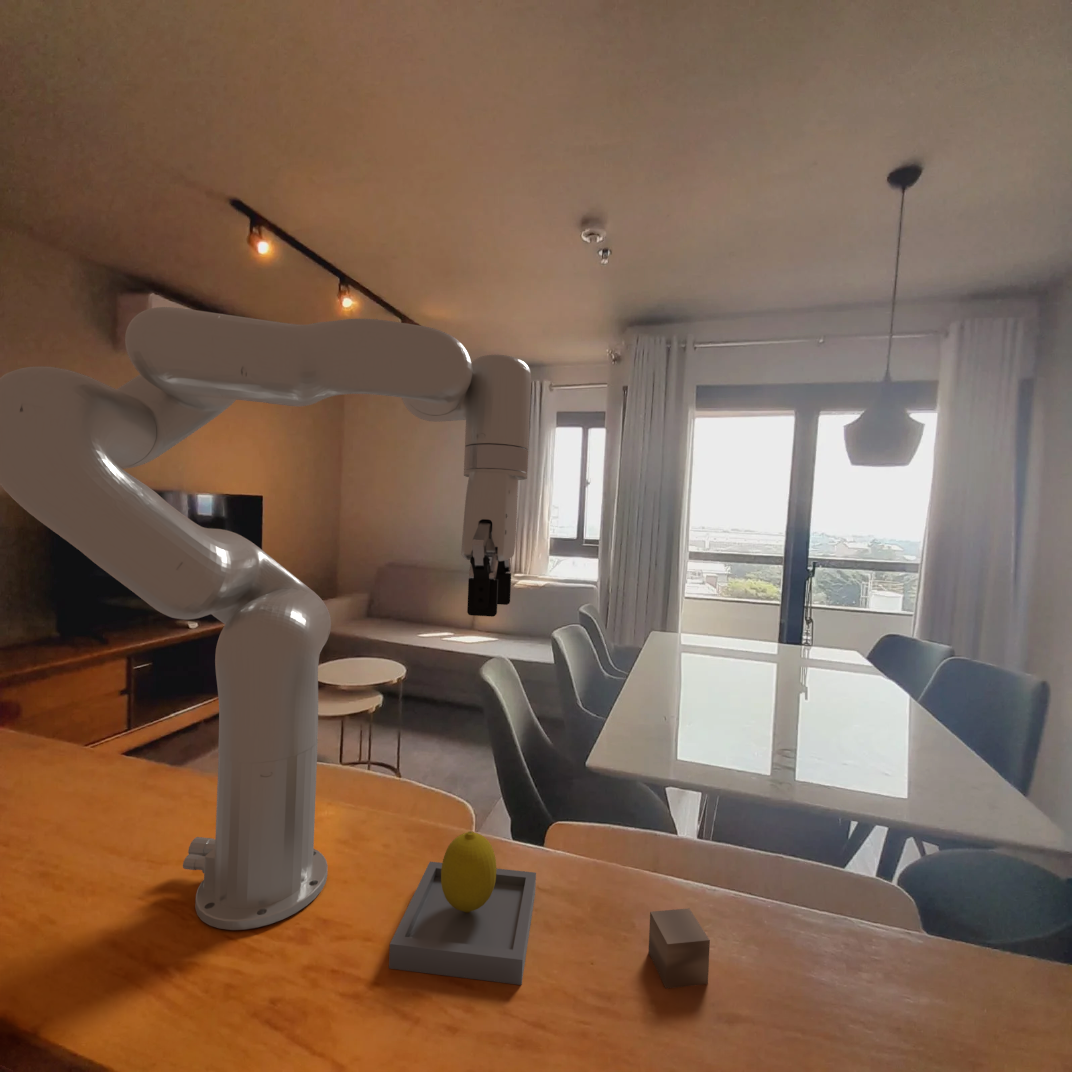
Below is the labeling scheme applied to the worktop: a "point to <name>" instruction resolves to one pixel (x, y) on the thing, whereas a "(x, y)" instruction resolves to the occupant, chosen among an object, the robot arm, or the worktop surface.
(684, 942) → the metal cube
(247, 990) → the worktop surface
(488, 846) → the lemon
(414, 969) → the dish
